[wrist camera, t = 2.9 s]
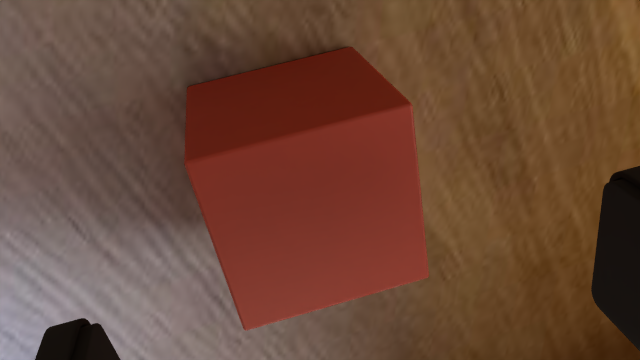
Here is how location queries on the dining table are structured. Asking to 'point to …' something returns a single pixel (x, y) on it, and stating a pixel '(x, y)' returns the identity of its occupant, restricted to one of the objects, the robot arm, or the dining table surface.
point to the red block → (307, 184)
